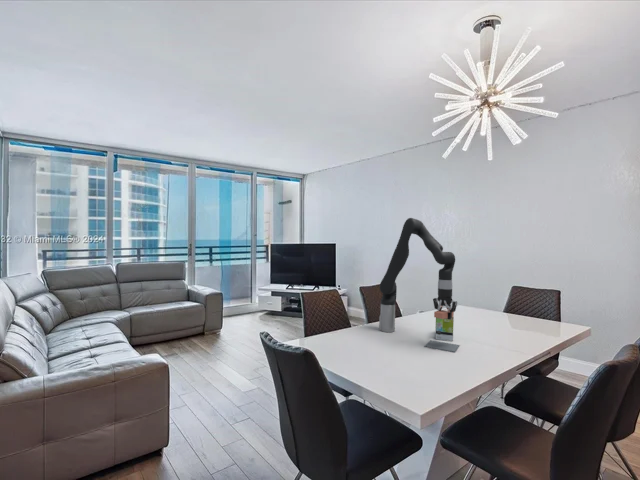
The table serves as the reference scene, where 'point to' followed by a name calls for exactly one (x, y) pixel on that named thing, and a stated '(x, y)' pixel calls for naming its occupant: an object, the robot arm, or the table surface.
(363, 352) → the table surface
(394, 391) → the table surface
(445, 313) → the card box
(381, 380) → the table surface
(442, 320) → the tea box
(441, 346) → the mat
